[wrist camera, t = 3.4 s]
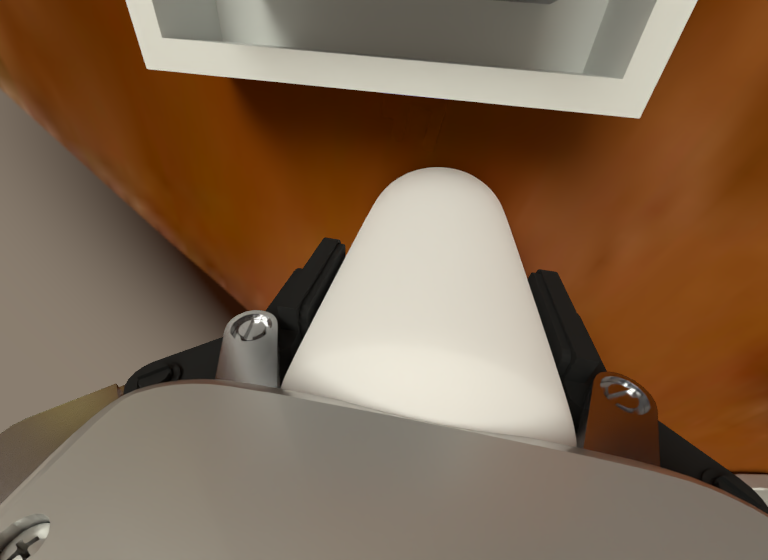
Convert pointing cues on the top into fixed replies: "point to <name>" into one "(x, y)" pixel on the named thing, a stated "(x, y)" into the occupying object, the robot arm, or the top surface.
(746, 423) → the top surface
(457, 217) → the can
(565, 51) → the inlet box
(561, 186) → the top surface
